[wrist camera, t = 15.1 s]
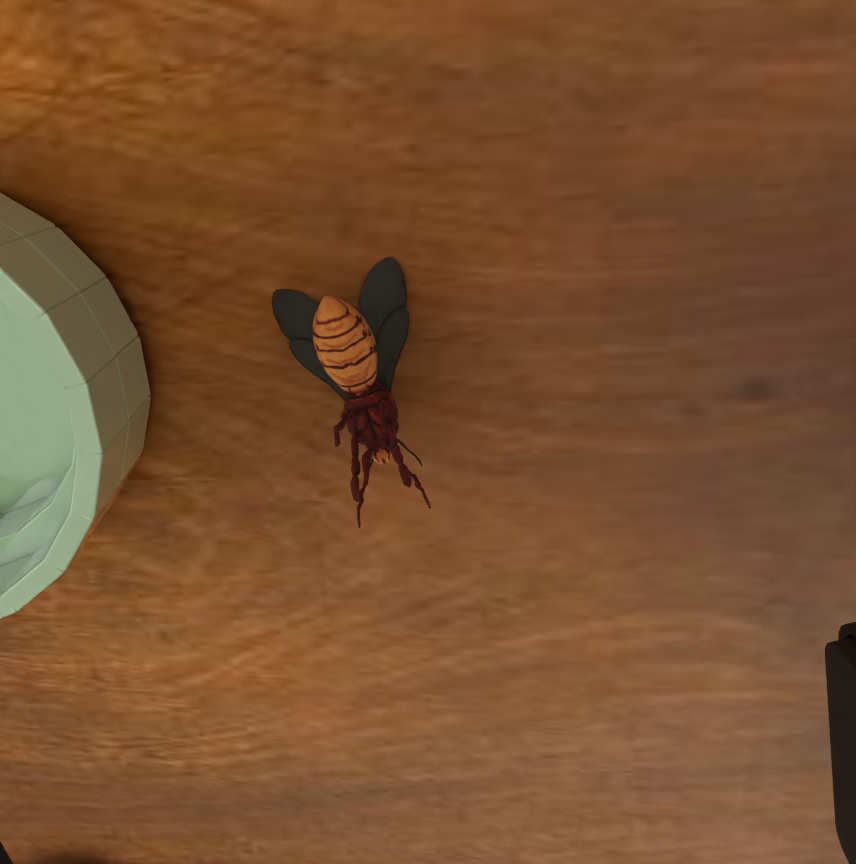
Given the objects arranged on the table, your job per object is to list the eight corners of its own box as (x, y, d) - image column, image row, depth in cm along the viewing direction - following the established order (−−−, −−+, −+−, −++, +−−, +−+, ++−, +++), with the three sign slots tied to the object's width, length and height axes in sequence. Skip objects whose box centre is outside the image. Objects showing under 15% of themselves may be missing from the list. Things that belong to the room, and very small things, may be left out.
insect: (470, 522, 20) (453, 443, 25) (402, 294, 18) (397, 253, 23) (324, 562, 21) (334, 476, 25) (238, 341, 18) (266, 291, 23)
